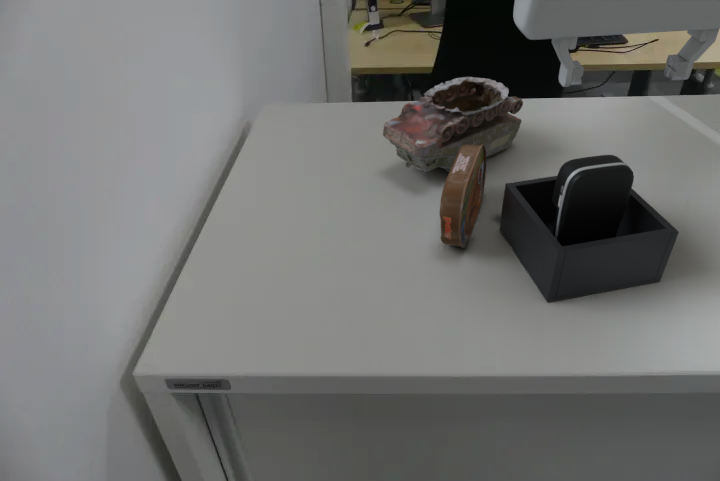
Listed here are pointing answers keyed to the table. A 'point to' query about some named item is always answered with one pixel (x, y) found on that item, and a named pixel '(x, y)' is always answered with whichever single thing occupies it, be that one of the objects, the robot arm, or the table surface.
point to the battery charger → (590, 198)
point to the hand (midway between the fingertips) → (622, 81)
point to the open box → (583, 244)
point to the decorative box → (454, 122)
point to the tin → (463, 195)
